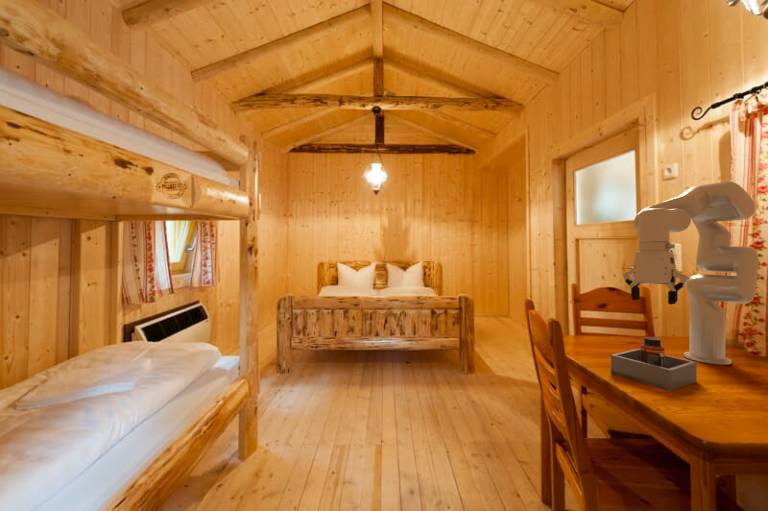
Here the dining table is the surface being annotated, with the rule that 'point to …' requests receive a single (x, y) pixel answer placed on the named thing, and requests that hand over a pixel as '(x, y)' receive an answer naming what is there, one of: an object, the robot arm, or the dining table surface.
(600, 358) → the dining table surface
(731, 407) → the dining table surface
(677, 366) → the bin
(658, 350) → the supplement bottle
